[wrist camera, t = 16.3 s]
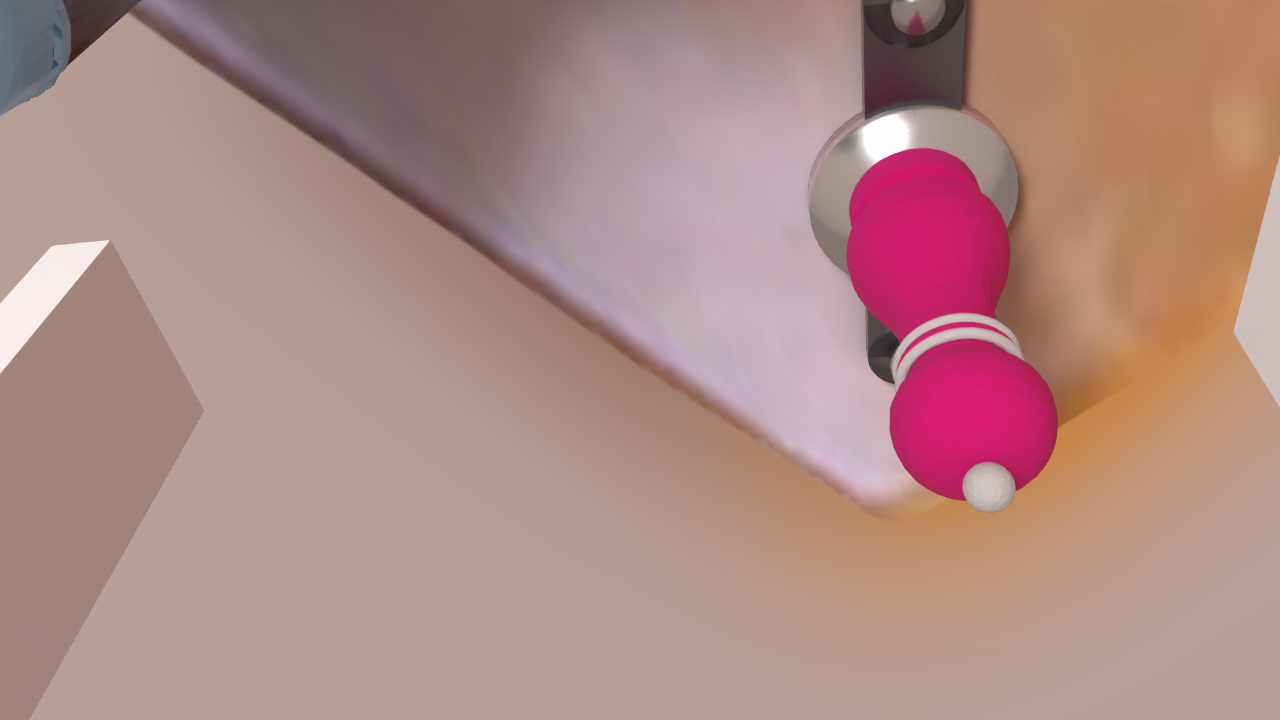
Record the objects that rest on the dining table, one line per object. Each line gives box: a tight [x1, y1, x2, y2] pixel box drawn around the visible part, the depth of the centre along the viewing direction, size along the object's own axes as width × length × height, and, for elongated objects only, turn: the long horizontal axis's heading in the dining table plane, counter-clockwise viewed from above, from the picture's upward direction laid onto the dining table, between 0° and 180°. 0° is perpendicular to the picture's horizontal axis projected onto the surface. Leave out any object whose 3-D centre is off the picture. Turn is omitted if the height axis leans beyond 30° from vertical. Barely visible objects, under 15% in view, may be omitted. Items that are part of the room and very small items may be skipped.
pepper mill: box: [846, 148, 1058, 513], centre depth 44 cm, size 7×7×20 cm
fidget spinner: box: [808, 0, 1018, 384], centre depth 52 cm, size 24×10×2 cm, turn 8°
